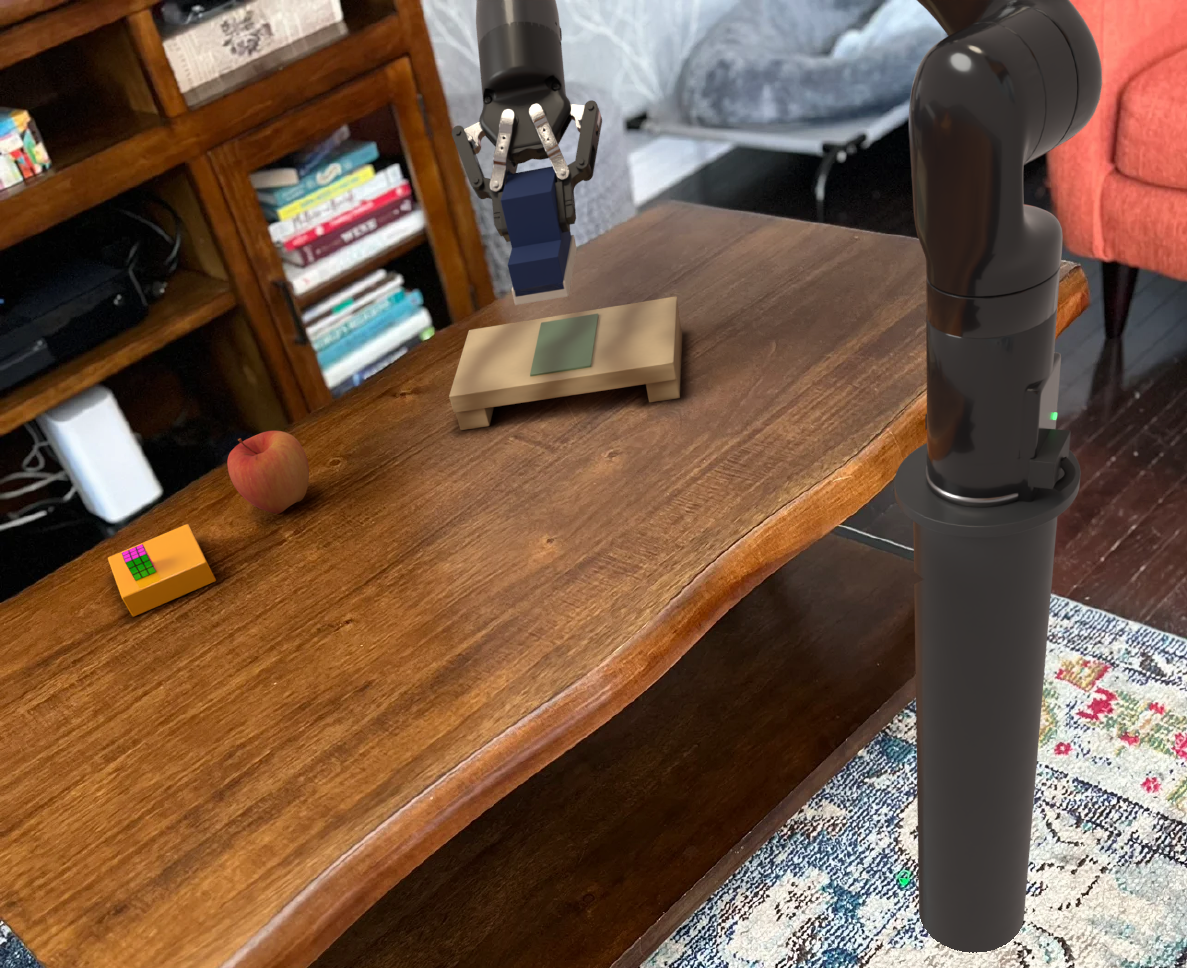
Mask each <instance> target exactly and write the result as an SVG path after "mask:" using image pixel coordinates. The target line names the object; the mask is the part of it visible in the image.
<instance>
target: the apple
mask: <svg viewBox="0 0 1187 968" xmlns="http://www.w3.org/2000/svg"><path fill="white" fill-rule="evenodd" d="M237 441H238V442H239V443H238V444H237V445H235V446H234V448H233V449H232V450H231V451H230V452H229V454H228V457H227V472H228V475H229V478H230V480H231V483H232V485H233V486H234V488H235V490H236V491H237V492H238V493H239V494H240V496H241V497H242V498H243V499H244V500H246V501H247V502H248V503H250V505H252V506H253V507H255V508H257V509H260V510H261V511H264V512H268V513H271V514H276V515H279V514H281V513H283V512H285V511H286V509H288V508H289V507H291V506H292V505H294V504H295V503H299V502H301V501H302V500H303V499H304V498H305V496H306V493H307V490H308V486H309V479H310V466H309V460H308V456H307V454H306V451H305V449H304V448H303V445H302V444H301V442H299V440H298V439H297V438H296V437H295V436H293V435H292V434H291V433H288V432H286V431H281V430H268V431H262V432H260V433H258V434H256V435H253V436H251V437H249V438H246V439H245V440H242V438H237Z"/></svg>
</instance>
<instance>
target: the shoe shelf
mask: <svg viewBox="0 0 1187 968" xmlns="http://www.w3.org/2000/svg"><path fill="white" fill-rule="evenodd" d="M680 318H681V317H680V309H679V301H678V297H677V296H670V297H663V298H658V299H650V300H645V301H639V302H634V303H628V304H621V305H614V306H608V307H603V308H597V309H590V310H584V311H578V312H572V313H565V314H559V315H554V316H548V317H540V318H536V319H530V320H529V319H528V320H523V321H517V322H516V321H515V322H511V323H505V324H499V325H492V326H485V327H479V328H473V329H469V330H468V332H467V336H466V339H465V342H464V346H463V348H462V352H461V356H460V359H459V361H458V366H457V368H456V372H455V375H454V379H453V382H452V385H451V389H450V392H449V395H448V398H449V401H450V404H451V407H452V411H453V413H454V414H455V416H456V419H457V423H458V426H459V429H460V431H466V430H472V429H480V428H485V427H490V426H491V421H492V418H493V417H492V416H493V412H494V408H496V407H502V406H503V407H504V406H509V405H515V404H517V405H518V404H521V403H522V404H523V403H529V402H537V401H542V400H549V399H555V398H556V399H557V398H563V397H569V396H576V395H582V394H589V393H596V392H601V391H608V390H609V391H610V390H615V389H622V388H629V387H635V386H642V385H645V387H646V393H647V398H648V403H655V402H656V403H657V402H661V401H667V400H669V401H670V400H676V399H680V398H681V375H682V352H683V351H682V350H683V332H682V323H681V319H680Z"/></svg>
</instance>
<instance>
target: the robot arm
mask: <svg viewBox="0 0 1187 968" xmlns="http://www.w3.org/2000/svg"><path fill="white" fill-rule="evenodd" d="M916 1H917V2H918V3H919V4H920V5H921V6H922V7H923V8H924V9H925V10H926V11H927V12H928V13H929V14H930V15H931V16H932V18H933V19H934V20H935V21H936V22H937V23H938V24H939V26H940V27H941V28H942V29H943V31H944V32H945V34H946V35H947V36H946V37H945V38H943V39H940V40H939V41H938V42H937V43H935V44H934V45H933V46H932V47H931V48H930V49H928V51H927V52H926V53H925V54H924V56H923V57H922V59H921V61H920V62H919V65H918V67H917V69H916V71H915V75H914V77H913V81H912V85H911V90H910V94H909V95H910V96H909V107H908V140H909V156H910V172H911V185H912V205H913V206H912V207H913V217H914V218H913V220H914V226H915V231H916V235H917V238H918V240H919V243H920V246H921V249H922V252H923V254H924V258H925V275H926V276H925V295H926V296H925V309H926V310H925V311H926V313H925V322H926V323H925V325H926V326H925V328H926V329H925V330H926V331H925V333H926V339H925V341H926V343H925V344H926V345H925V346H926V358H925V359H926V360H925V361H926V414H924V415H925V417H924V419H925V425H924V427H925V428H924V430H925V431H926V443H927V466H926V482H927V485H928V487H929V489H930V490H931V491H932V492H933V493H934V494H935V495H936V496H938V497H939V498H941V499H943V500H945V501H947V502H950V503H953V504H957V505H961V506H967V507H994V506H1001V505H1006V504H1010V503H1013V502H1017V501H1023V502H1033V501H1034V499H1035V497H1036V495H1037V493H1038V491H1039V489H1040V488H1046V489H1053V487H1054V488H1055V489H1056V490H1057V491H1062V490H1063V489H1064V488H1065V487H1067V486H1068V485H1069V484H1070V483H1071V482H1072V481H1073V480H1074V478H1075V474H1076V470H1075V467H1074V465H1073V464H1072V463H1071V461H1070V460H1069V459H1068V456H1069V450H1070V444H1071V432H1072V431H1071V430H1069V429H1059V428H1057V418H1058V403H1059V392H1060V377H1061V363H1062V355H1061V352H1057V351H1055V347H1056V332H1057V319H1058V317H1057V316H1058V305H1059V304H1058V302H1059V293H1060V292H1059V289H1060V276H1061V264H1062V256H1063V254H1062V253H1063V239H1064V238H1063V228H1062V226H1061V222H1060V221H1059V219H1058V218H1057V217H1056V216H1055V215H1054V214H1053V213H1051V212H1050V211H1048V210H1045V209H1043V208H1041V207H1038V206H1035V205H1030V204H1025V202H1024V200H1025V199H1024V166H1026V165H1027V164H1029V163H1032V162H1033V161H1035V160H1037V159H1038V158H1040V157H1042V156H1044V155H1045V154H1047V153H1049V152H1051V151H1052V150H1054V149H1055V148H1057V147H1059V146H1061V145H1062V144H1064V143H1066V142H1068V141H1069V140H1071V139H1072V138H1073V137H1075V136H1076V135H1077V134H1078V133H1080V132H1081V131H1082V130H1083V129H1084V128H1085V127H1086V126H1087V125H1088V124H1089V122H1090V121H1091V120H1092V118H1093V116H1094V115H1095V113H1096V110H1097V108H1098V105H1099V102H1100V99H1101V94H1102V89H1103V68H1102V60H1101V58H1100V53H1099V50H1098V46H1097V43H1096V40H1095V37H1094V35H1093V33H1092V31H1091V29H1090V27H1089V26H1088V24H1087V22H1086V21H1085V19H1084V18H1083V16H1082V15H1081V13H1080V12H1079V10H1078V9H1077V8H1076V6H1075V5H1074V4H1073V3H1072V1H1071V0H916ZM475 27H476V28H475V29H476V37H477V38H476V39H477V51H478V60H479V72H480V80H481V81H480V83H481V94H482V110H481V112H480V115H479V120H478V122H476V123H473V124H471V125H470V126H468V127H466V128H464V126H462V125H460V124H459V125H456V126H454V127H453V128H452V129H451V136H452V138H453V141H454V144H455V146H456V147H455V148H456V150H457V153H458V155H459V158H460V160H461V163H462V166H463V168H464V171H465V174H466V176H467V179H468V181H469V184H470V186H471V188H472V189H473V191H474V193H475V194H476V196H477V197H478V199H480V200H486V199H489V200H491V204H492V205H491V206H492V215H493V217H492V218H493V225H494V227H495V230H496V231H497V233H498V234H499V236H500V237H503V239H504V240H505V242H506V243H511V242H510V238H509V234H508V230H507V226H506V221H505V217H504V213H503V209H502V205H501V197H502V194H503V190H504V187H505V183H506V180H507V177H508V175H512V174H513V173H517V172H518V166H519V164H520V165H521V164H524V163H527V162H529V161H531V160H539V161H542V160H546V159H549V161H550V164H551V166H553V168H554V171H555V173H556V175H557V182H555V190H556V201H557V212H558V222H559V226H560V228H561V230H562V232H569V231H570V232H571V225H575V223H576V221H577V220H576V219H577V211H576V200H575V189H576V187H577V185H578V184H579V183H581V182H588V181H591V180H592V179H593V176H594V172H595V166H596V160H597V156H598V155H597V154H598V148H599V144H600V143H599V142H600V137H601V132H602V131H601V130H602V126H603V125H602V124H603V117H602V115H601V111H600V107H599V106H598V103H597V102H596V101H595V100H591V99H590V100H588V101H586V103H585V104H573V103H571V101H570V99H569V97H568V96H567V93H566V81H565V71H564V58H563V47H562V40H563V38H562V37H563V36H562V35H563V34H562V28H561V26H560V16H559V9H558V5H557V0H476V7H475ZM572 121H574V123H575V127H576V130H577V132H578V133H579V136H578V142H577V147H576V152H575V153H576V154H575V160H574V161H573V162H571V163H569V164H567V162H566V160H565V158H564V155H563V153H562V150H561V148H560V143H561V141H562V139H563V137H564V136H565V133H566V132H567V130H568V128H569V126H570V124H571V122H572ZM485 137H486V138H487V140H488V141H489V142H490V143H491V144H492V145H493V146H494V147H495V148H494V152H493V158H492V163H493V166H492V172H491V175H490V178H488V177H485V175H484V172H483V170H482V167H481V164H480V161H479V158H478V156H477V155H479V154H480V152H481V150H482V140H483V138H485ZM1062 469H1063V471H1064V476H1063V477H1062V478H1060V479H1059V480H1058V481H1057V479H1058V477H1059V475H1060V473H1061V471H1062ZM1056 481H1057V482H1056Z"/></svg>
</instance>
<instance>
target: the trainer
mask: <svg viewBox="0 0 1187 968" xmlns="http://www.w3.org/2000/svg"><path fill="white" fill-rule="evenodd" d="M555 182H557V175H556V173H555V171H554V168H553V166H552V165H551V166H547V167H541V168H535V169H530V170H524V171H520V172H519V171H517V172H516V173H513V174H512V175H508V177H507V180H506V183H505V187H504V190H503V194H502V197H501V205H502V209H503V213H504V217H505V221H506V226H507V230H508V234H509V238H510V242H509V243H510V246H511V250H510V255H509V258H508V262H507V268H508V273H509V277H510V280H511V284H512V285H511V286H512V287H511V294H512V299H513V302H514V305H515V306H521V305H527V304H533V303H539V302H546V301H553V300H556V299H563V298H569V296H570V293H571V292H570V291H571V286H572V280H573V274H574V268H575V262H576V257H577V253H578V251H577V250H578V249H577V243H576V238H575V235H574V234H572V233H571V230H570V231H569V232H562V230H561V228H560V226H559V222H558V212H557V201H556V190H555Z"/></svg>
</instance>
